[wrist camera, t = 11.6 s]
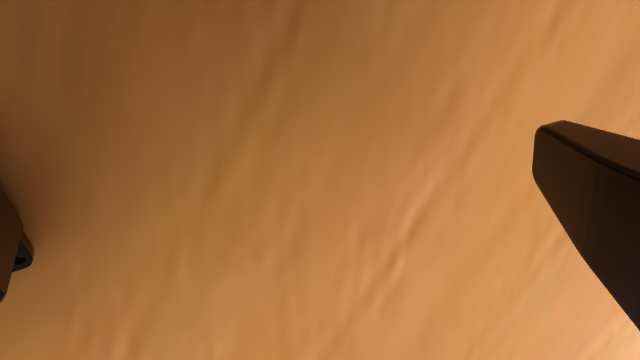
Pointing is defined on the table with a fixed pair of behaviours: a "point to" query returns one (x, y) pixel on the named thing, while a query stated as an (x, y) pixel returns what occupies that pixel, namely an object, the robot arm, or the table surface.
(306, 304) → the table surface
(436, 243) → the table surface
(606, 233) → the robot arm
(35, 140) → the table surface
